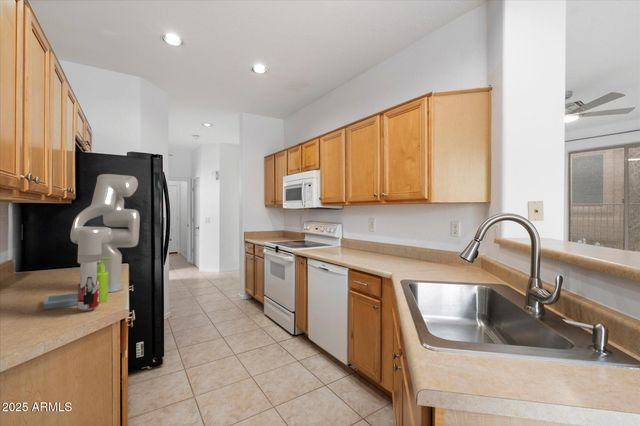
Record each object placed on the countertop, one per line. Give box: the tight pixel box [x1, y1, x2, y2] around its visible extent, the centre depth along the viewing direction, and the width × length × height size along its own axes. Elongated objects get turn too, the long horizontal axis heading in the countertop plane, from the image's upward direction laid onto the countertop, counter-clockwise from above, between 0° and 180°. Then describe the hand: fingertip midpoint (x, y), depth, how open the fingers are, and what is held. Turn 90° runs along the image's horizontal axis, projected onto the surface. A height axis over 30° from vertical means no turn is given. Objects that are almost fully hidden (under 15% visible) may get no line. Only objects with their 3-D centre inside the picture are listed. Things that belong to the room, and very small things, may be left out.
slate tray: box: [42, 292, 78, 311], centre depth 124 cm, size 13×13×2 cm
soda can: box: [76, 279, 100, 312], centre depth 116 cm, size 7×7×12 cm
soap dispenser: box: [97, 257, 112, 304], centre depth 128 cm, size 6×7×20 cm
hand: (88, 301), depth 116 cm, fingers closed on soda can, 6 cm apart
